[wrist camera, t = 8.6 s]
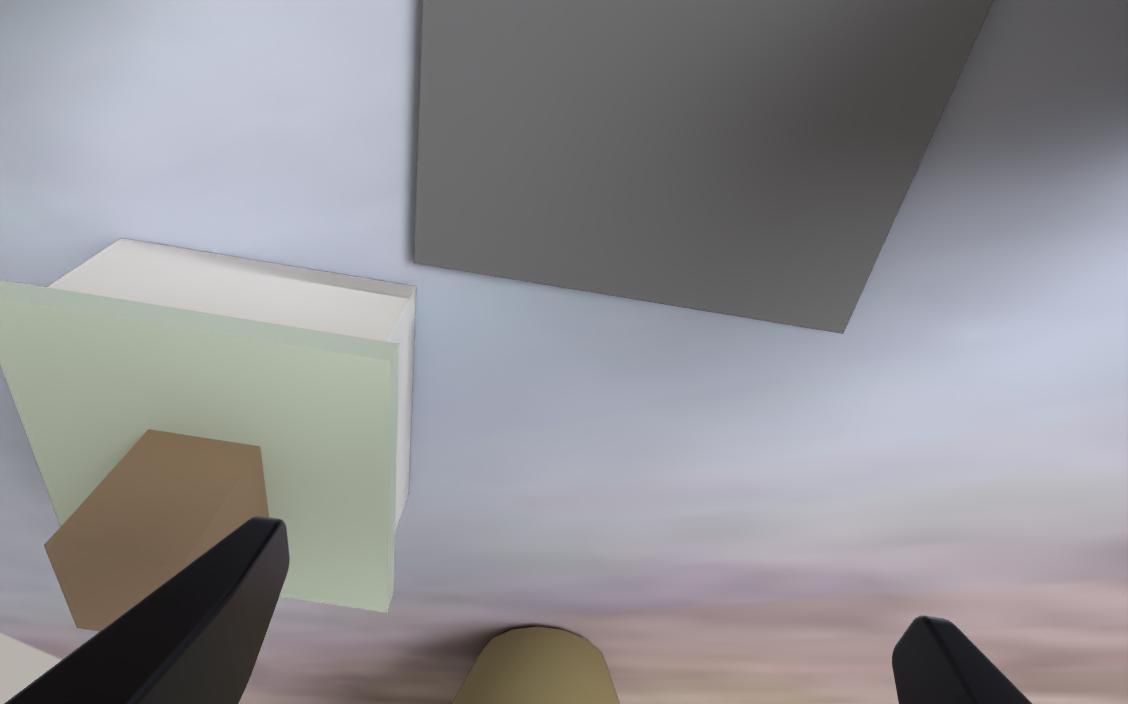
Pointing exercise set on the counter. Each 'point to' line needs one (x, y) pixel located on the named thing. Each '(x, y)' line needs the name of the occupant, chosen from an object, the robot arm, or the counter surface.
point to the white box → (264, 304)
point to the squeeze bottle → (538, 671)
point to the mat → (680, 143)
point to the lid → (202, 444)
